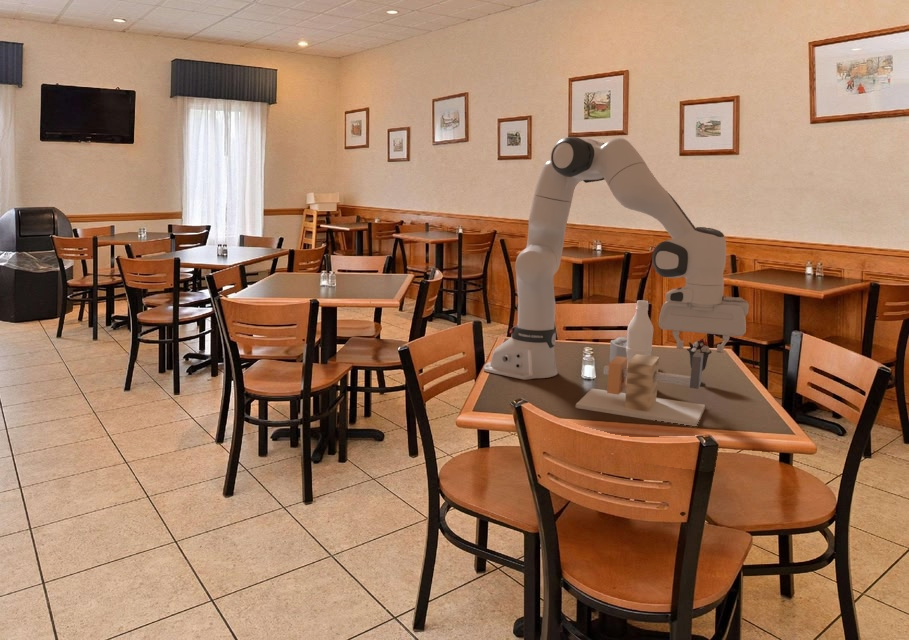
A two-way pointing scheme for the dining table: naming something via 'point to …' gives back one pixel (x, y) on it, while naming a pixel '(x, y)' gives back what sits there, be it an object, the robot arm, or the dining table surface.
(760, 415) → the dining table surface
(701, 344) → the sundae
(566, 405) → the dining table surface
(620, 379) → the block
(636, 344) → the water bottle
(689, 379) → the shaft
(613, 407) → the base board
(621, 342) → the lumpy-topped squat cylinder
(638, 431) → the dining table surface
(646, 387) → the bearing block
